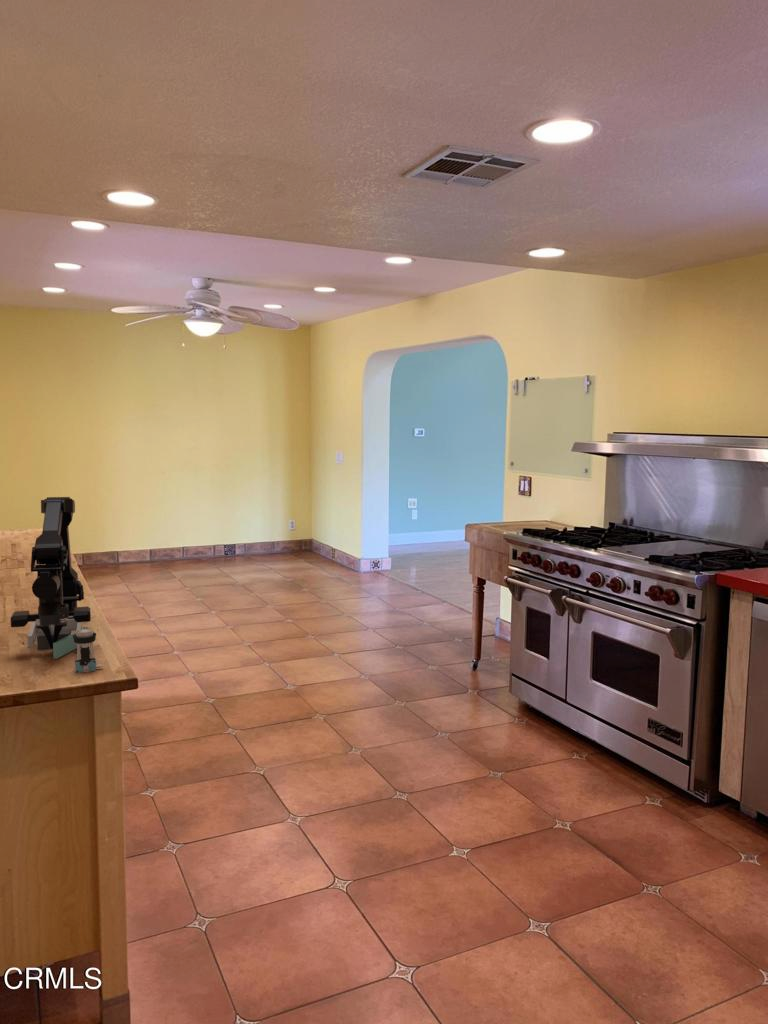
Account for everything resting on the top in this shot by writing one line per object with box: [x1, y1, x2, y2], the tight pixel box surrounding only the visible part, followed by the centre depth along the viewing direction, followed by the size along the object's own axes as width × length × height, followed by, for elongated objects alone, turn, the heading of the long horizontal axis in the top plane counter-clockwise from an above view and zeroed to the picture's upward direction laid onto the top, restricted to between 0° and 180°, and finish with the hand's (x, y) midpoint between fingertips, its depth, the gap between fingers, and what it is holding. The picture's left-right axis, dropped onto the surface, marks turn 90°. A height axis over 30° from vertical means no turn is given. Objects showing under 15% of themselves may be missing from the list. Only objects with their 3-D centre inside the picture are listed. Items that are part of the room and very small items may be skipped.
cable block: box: [36, 629, 72, 651], centre depth 205 cm, size 5×8×4 cm, turn 109°
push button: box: [73, 628, 104, 674], centre depth 186 cm, size 7×5×10 cm
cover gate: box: [52, 631, 81, 660], centre depth 200 cm, size 1×13×4 cm, turn 170°
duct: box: [27, 619, 89, 648], centre depth 212 cm, size 17×15×4 cm
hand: (53, 648), depth 198 cm, fingers closed
